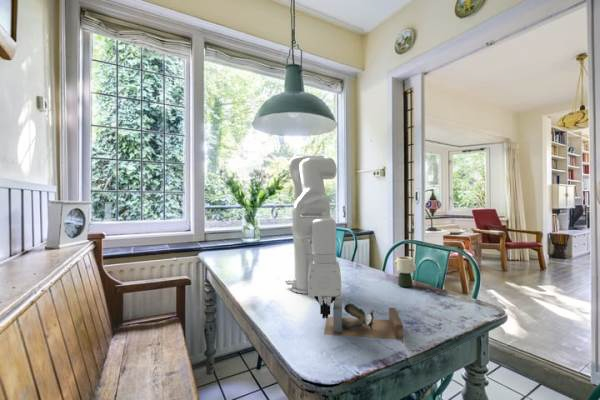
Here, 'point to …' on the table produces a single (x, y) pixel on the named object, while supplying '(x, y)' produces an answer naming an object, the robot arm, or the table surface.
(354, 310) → the eagle figurine
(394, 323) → the wooden book rack
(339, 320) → the bookend
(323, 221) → the robot arm
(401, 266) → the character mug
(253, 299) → the table surface
